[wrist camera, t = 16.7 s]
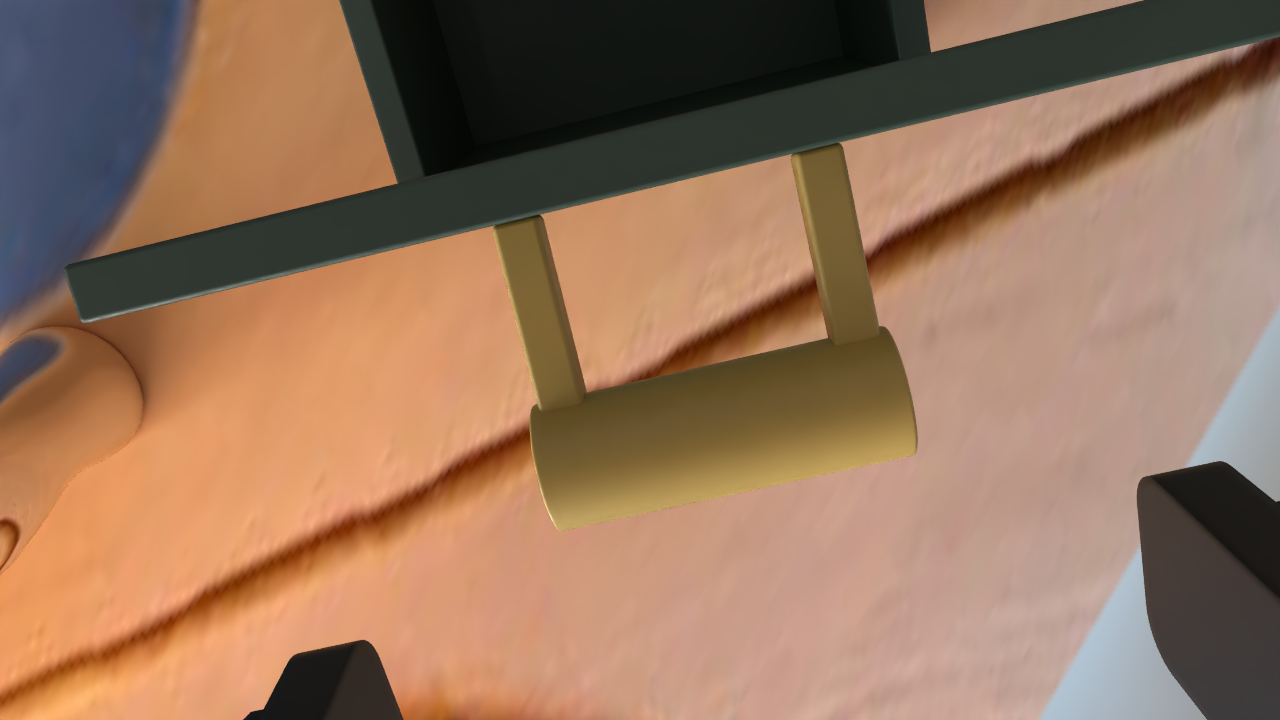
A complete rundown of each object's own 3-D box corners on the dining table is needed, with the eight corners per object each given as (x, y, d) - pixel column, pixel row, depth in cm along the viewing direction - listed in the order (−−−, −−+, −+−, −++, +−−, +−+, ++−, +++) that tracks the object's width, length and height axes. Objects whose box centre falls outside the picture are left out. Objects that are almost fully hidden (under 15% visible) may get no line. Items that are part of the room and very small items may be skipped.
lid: (59, 265, 14) (187, 657, 15) (1292, -37, 12) (1349, 411, 13) (404, 216, 31) (453, 398, 31) (939, 86, 29) (975, 279, 30)
